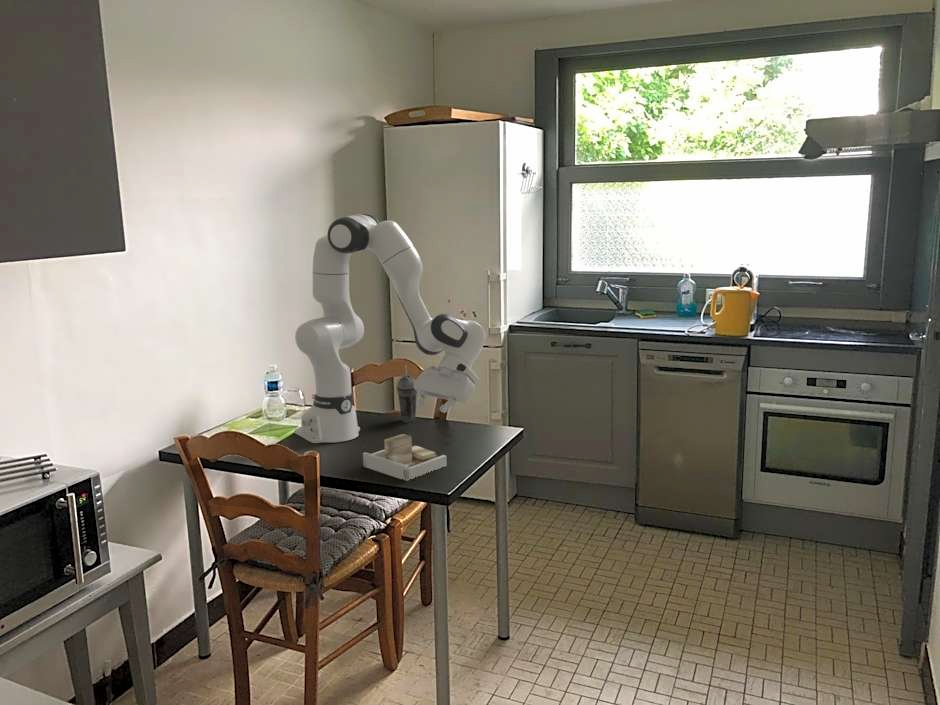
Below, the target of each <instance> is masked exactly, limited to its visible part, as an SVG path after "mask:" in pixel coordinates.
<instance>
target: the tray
mask: <svg viewBox="0 0 940 705" xmlns="http://www.w3.org/2000/svg"><path fill="white" fill-rule="evenodd" d="M447 461H448V460H447V455H444V454H441V455H440V456H437V457H436V458H434V459H431V460H428V461H425V462H423V463H420V464H417V465H415V462H411V463H408V464H405V465H404V464H401V463H398V462H395V461H392V460H388V459H385V448H384V449H381V450H379V451H375V452H373V453H369V452H363V453H362V462H363V463H362V465H363V466H364V468H367V469H369V470H372V471H375V472H378V473H382V474H385V475H387V476H391V477H393V478H396V479H399V480H402V479H403V481H406V482H408V481H411V480H413V479H415V477H416V478H418V476H419V477H421V476H424V475H427V474H429V473H432V472H434V470H435V471H437V470H440V469H442V467H443V468H444V467H447V466H448V462H447ZM431 471H432V472H431ZM428 472H429V473H428ZM426 473H427V474H426ZM410 479H411V480H410Z"/></svg>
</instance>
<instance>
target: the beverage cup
mask: <svg viewBox="0 0 940 705" xmlns="http://www.w3.org/2000/svg"><path fill="white" fill-rule="evenodd" d="M404 370H405V375H403V376H402V377H401V378H399V380H398V382H397V385H396V392H397V394H398V400H399V411H400V417H401V422H402V421H403V423H412V421H413V420H415V421H416V413H417V412H416V411H417V397H418V396H417V394H418V392H417V391H416V390H415V389H414V383H415V382H416V380H417V379H415V378H414V377H413V376H411V375H408V371H407V370H408V367H407V363H405V364H404Z"/></svg>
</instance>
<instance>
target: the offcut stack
mask: <svg viewBox="0 0 940 705" xmlns="http://www.w3.org/2000/svg"><path fill="white" fill-rule="evenodd" d="M436 457H438V454H436V452H435V451H432V450H429V449H427V448H425V447H421V446H418V445H412V462H415V465H417V464H420V463H423V462H425V461H428V460H431V459H434V458H436Z"/></svg>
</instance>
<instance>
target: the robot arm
mask: <svg viewBox="0 0 940 705" xmlns="http://www.w3.org/2000/svg"><path fill="white" fill-rule="evenodd" d="M366 250H369V251H371V252H373V253H374V255H376V257H377V259H378V261H379V263H380V264H381V266H382V268H383V269H384V271H385V273H386V275H387V277H388V278H389V280H390V282H391V285H392V286H393V289H394V291H395V293H396V295H397V297H398V298H397V299H399V302H400V304H401V306H402V308H403V311H404V312H405V315H406V316H407V318H408V320H409V322H410V324H411V327H412V330H413V336H414V342H415V344H416V347H417V348H418V349H419V351H420V352H421V353H423V354H425V355H429V356H435V355H439V354H440V353H442V352H443V351H444V352H445V354H444V355H443V357H442V359H441V361H440V362H439V363H438V364H439V365H437V366H434V365H431V366H429V367H427V368H425V369H424V370H423V371H422V373H420V375H419V376H418V377H417V379H415V380H416V382H415V383H414V389H415V390H416V391H417V394H418V400H417V401H416V407H418V408H424V406H425V405H426V402H425V399H426V398H427V396H429V397H434V398H438V399H443V400H447V401H446V402H445V403H444V404H440V406H439V409H438V410H439V411H440V413H443V414H445V413H447V412H448V410H449V409H450V408H452V407H453V406H454V405H455V404H456V403H461V404H466V403H467V402H469V400H470V399H471V397H472V395H473V393H474V391H475V388H476V385H477V384H478V382H479V381H480V378H479V377H478V376H477V374H475V372H474V371H473V369H472V367H473V363H474V361H475V360H477V359H478V357H479V355H480V353H481V352H482V349H483V347H484V345H485V342H486V339H487V334H486V331H485V330H486V329H484V328H483V326H482V325H481V324H480V323H478V322H477V321H476V320H475V321H474V320H470V319H469V320H464V319H459V318H455V317H454V316H453V315H450V314H447V313H440V314H438V315H436V316H434V317H433V318H432V317H431V316H430V312H429V311H428V309H427V306H426V305H425V303H424V301H423V298H421V294H420V283H421V282H420V281H421V277H422V274H423V270H424V266H423V263H422V260H421V259H422V258H421V257H420V255H419V253H418V251H417V249H416V247H415V246H414V243H413V242H412V240H411V239H410V238H409V237H408V235H407V234H406V232H405V231H404V230H403V229H402V227H401V226H400V225H399V224H398V223H397V222H396V221H394V220H383V221H382V220H381V221H379V219H377V218H376V217H374V216H373V215H370V214H365V213H364V214H363V213H362V214H357V213H356V214H350V215H348V216H343V217H340V218H337V219H336V220H334V221H333V222H332V223H331V224H330V225H329V227H328V229H327V235H325V236H322V237H319V238H318V239H317V241H316V242H315V247H314V251H313V257H312V258H313V259H312V296H313V299H314V300H315V301H317V302H318V303H319V304H321V307H322V310H323V317H318V318H313V319H310V320H307V321H306V322H304V323H302V324H300V325H299V326H298V327H297V329H296V331H295V337H294V339H295V343H296V346H297V348H298V349H299V351H300V352H302V354H303V355H304V354H305V356H306V357H307V358H308V359H309V361H310V363H311V365H312V367H313V372H314V380H315V392H316V393H315V394H312V395H311V396H312V397H311V399H313V403H312V405H311V407H309V408H308V409H306V411H305V412H304V413H303V414H302V415H301V419H300V421H301V422H300V424H301V425H300V426H299V427H296V428H295V429H294V431H293V432H294V434H295V435H298V436H299V437H301V438H303V439H304V440H306V441H308V442H310V443H312V444H321V443H341V442H342V443H343V442H347V441H350V440H353V439H356V438H357V437H358V436H359V435H360V433H359V432H360V431H361V427H360V426H358V425H359V424H358V419H357V418H358V417H357V410H356V408H355V406H354V405H353V404H354V402H355V401H354V397H355V396H354V393H353V391H352V377H351V376H352V374H351V373H352V372H351V368H350V367H349V365H347V364H345V363H344V362H342V360H341V356H340V353H339V352H340V351H339V350H342V349H345V348H350V347H352V346H354V345H356V344H357V343H358V342H359V341H361V340H362V339H363V337H364V334H365V325H364V323H363V322H364V321H362V319H361V317H359V316H358V314H356V312H355V311H354V309H353V306H352V302H351V297H350V296H351V295H350V258H351V256H352V255H353V254H354V253H361V252H364V251H366Z"/></svg>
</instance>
